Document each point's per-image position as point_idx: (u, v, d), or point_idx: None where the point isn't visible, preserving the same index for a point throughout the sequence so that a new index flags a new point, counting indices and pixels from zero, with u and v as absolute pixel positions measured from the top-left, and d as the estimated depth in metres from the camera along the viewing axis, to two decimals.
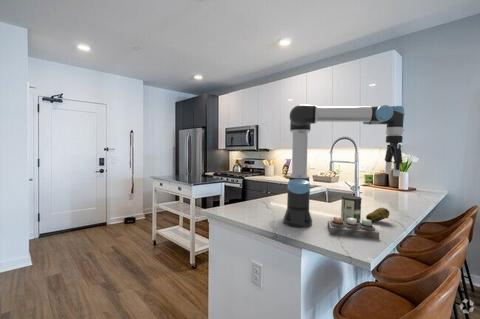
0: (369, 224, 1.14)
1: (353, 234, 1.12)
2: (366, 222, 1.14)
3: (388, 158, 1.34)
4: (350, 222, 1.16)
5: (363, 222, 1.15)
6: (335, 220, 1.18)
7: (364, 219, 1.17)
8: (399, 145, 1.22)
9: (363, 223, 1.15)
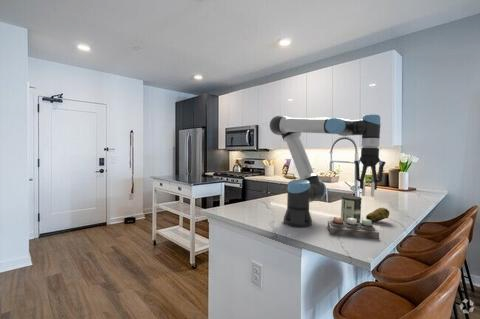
0: (369, 224, 1.14)
1: (353, 234, 1.12)
2: (366, 222, 1.14)
3: (372, 176, 1.15)
4: (350, 222, 1.16)
5: (363, 222, 1.15)
6: (335, 220, 1.18)
7: (364, 219, 1.17)
8: (355, 162, 1.15)
9: (363, 223, 1.15)
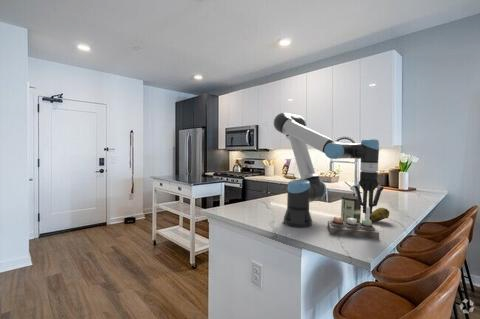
0: (369, 224, 1.14)
1: (353, 234, 1.12)
2: (366, 222, 1.14)
3: (369, 200, 1.16)
4: (350, 222, 1.16)
5: (363, 222, 1.15)
6: (335, 220, 1.18)
7: (364, 219, 1.17)
8: (354, 187, 1.16)
9: (363, 223, 1.15)
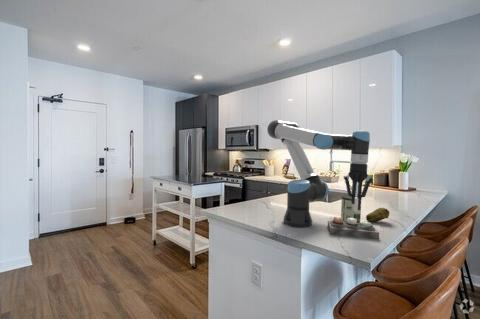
0: None
1: (353, 234, 1.12)
2: (366, 225, 1.14)
3: (357, 191, 1.17)
4: (350, 222, 1.16)
5: (363, 225, 1.15)
6: (335, 220, 1.18)
7: (364, 222, 1.17)
8: (344, 178, 1.17)
9: None
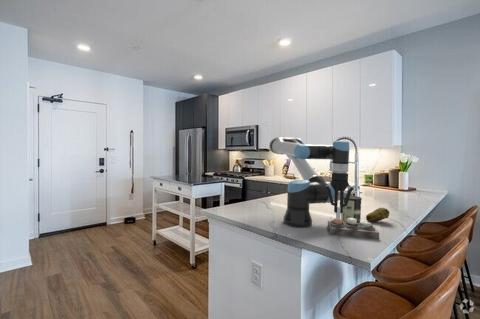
0: None
1: (353, 234, 1.12)
2: (366, 225, 1.14)
3: (340, 200, 1.19)
4: (350, 222, 1.16)
5: (363, 225, 1.15)
6: (335, 222, 1.18)
7: (364, 222, 1.17)
8: (326, 187, 1.19)
9: None
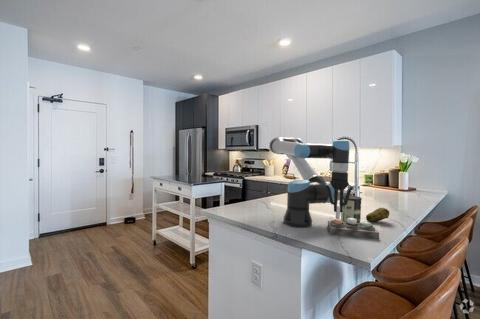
0: None
1: (353, 234, 1.12)
2: (366, 225, 1.14)
3: None
4: (350, 222, 1.16)
5: (363, 225, 1.15)
6: (335, 223, 1.18)
7: (364, 222, 1.17)
8: (326, 186, 1.19)
9: None
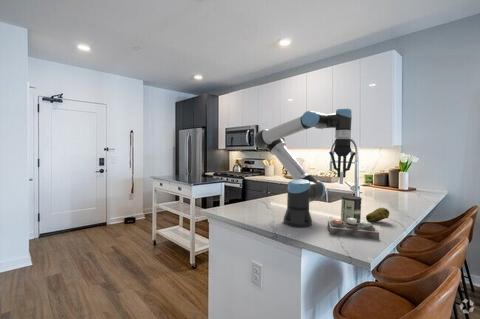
0: None
1: (353, 234, 1.12)
2: (366, 225, 1.14)
3: (343, 165, 1.25)
4: (350, 222, 1.16)
5: (363, 225, 1.15)
6: (335, 223, 1.18)
7: (364, 222, 1.17)
8: (329, 153, 1.26)
9: None
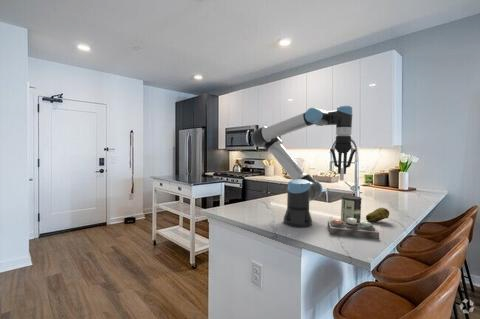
0: None
1: (353, 234, 1.12)
2: (366, 225, 1.14)
3: (343, 162, 1.27)
4: (350, 222, 1.16)
5: (363, 225, 1.15)
6: (335, 223, 1.18)
7: (364, 222, 1.17)
8: (330, 150, 1.27)
9: None
